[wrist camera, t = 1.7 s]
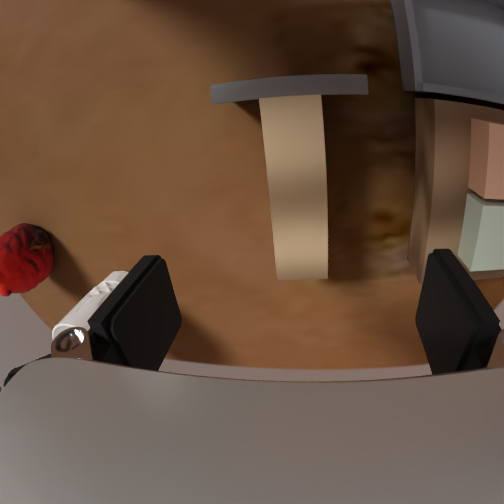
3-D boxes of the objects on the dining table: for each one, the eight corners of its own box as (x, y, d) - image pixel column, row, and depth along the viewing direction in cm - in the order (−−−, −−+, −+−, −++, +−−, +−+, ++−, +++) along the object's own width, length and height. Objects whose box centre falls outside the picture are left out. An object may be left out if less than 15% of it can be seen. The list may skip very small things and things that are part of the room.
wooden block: (414, 97, 19) (434, 99, 16) (517, 113, 17) (544, 120, 14) (407, 258, 26) (420, 283, 22) (500, 255, 23) (518, 276, 20)
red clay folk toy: (15, 234, 32) (-63, 296, 19) (33, 205, 29) (-61, 270, 16) (47, 278, 34) (-24, 351, 21) (69, 255, 32) (-15, 336, 19)
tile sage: (467, 193, 18) (482, 205, 16) (514, 196, 17) (531, 207, 15) (457, 254, 20) (469, 271, 18) (503, 252, 19) (517, 268, 17)
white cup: (174, 298, 32) (134, 368, 23) (143, 332, 35) (107, 394, 27) (116, 251, 30) (60, 309, 22) (93, 292, 34) (46, 347, 25)
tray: (385, -24, 14) (395, -36, 12) (513, 9, 12) (531, 5, 9) (402, 90, 19) (415, 90, 16) (525, 110, 17) (544, 114, 14)
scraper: (232, 87, 21) (209, 85, 16) (351, 79, 20) (367, 74, 14) (251, 242, 27) (238, 280, 22) (355, 239, 26) (366, 277, 20)
